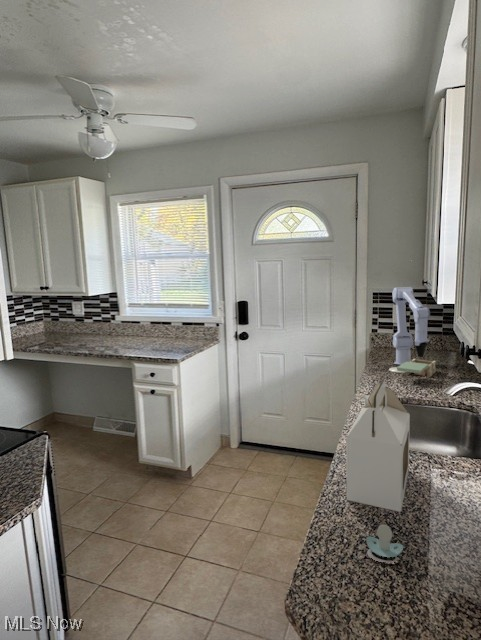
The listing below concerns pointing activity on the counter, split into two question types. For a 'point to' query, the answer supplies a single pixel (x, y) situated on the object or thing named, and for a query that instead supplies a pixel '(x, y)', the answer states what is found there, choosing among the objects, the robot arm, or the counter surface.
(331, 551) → the counter surface
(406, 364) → the lid
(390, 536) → the pacifier
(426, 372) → the block
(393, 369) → the plate
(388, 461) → the gable box
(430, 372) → the cubby
